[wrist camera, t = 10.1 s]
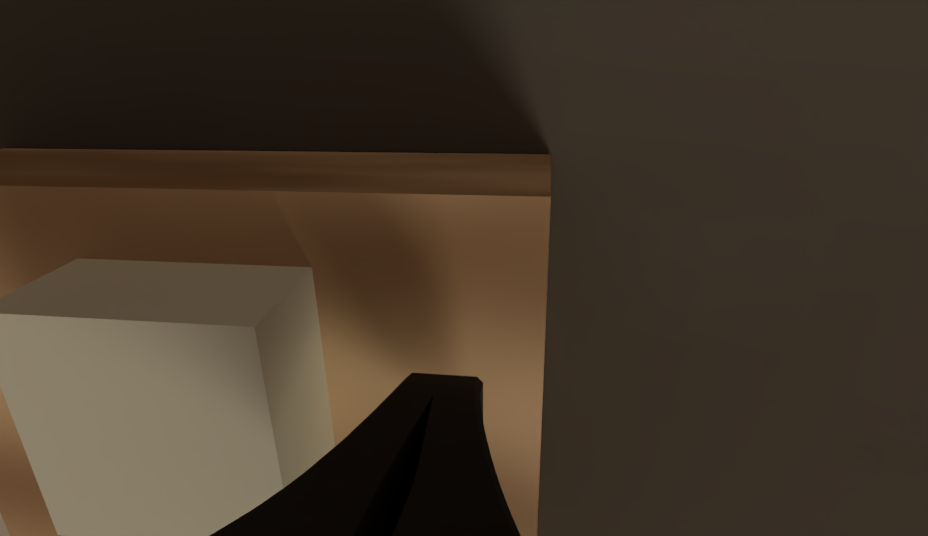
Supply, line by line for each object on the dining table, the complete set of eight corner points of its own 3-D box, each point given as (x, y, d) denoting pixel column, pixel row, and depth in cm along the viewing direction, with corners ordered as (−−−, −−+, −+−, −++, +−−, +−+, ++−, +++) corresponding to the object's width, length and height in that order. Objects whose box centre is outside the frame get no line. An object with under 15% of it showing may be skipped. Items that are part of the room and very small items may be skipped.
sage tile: (337, 471, 13) (295, 561, 11) (135, 453, 14) (57, 535, 12) (311, 267, 11) (254, 326, 9) (77, 258, 12) (-30, 311, 10)
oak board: (531, 632, 20) (527, 751, 16) (146, 586, 21) (75, 686, 18) (551, 154, 13) (550, 196, 10) (4, 148, 15) (-142, 182, 12)
